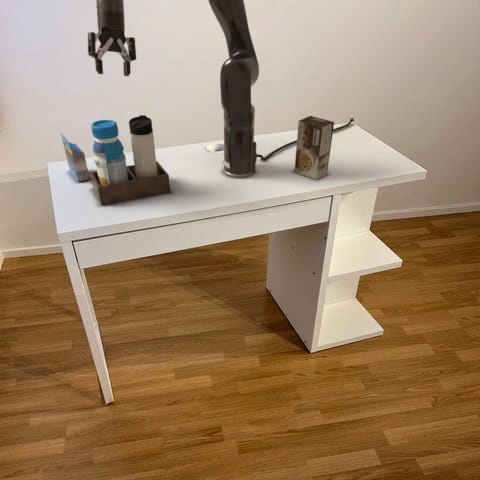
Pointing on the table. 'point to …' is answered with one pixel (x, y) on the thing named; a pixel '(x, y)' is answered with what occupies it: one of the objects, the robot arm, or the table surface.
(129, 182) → the caddy
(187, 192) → the table surface
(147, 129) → the travel mug
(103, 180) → the beverage bottle
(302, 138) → the coffee box
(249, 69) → the robot arm
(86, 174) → the blue hanging retail box
